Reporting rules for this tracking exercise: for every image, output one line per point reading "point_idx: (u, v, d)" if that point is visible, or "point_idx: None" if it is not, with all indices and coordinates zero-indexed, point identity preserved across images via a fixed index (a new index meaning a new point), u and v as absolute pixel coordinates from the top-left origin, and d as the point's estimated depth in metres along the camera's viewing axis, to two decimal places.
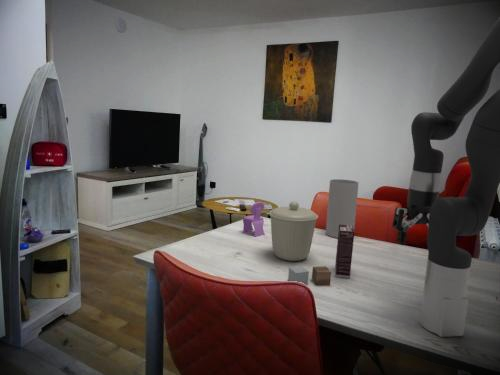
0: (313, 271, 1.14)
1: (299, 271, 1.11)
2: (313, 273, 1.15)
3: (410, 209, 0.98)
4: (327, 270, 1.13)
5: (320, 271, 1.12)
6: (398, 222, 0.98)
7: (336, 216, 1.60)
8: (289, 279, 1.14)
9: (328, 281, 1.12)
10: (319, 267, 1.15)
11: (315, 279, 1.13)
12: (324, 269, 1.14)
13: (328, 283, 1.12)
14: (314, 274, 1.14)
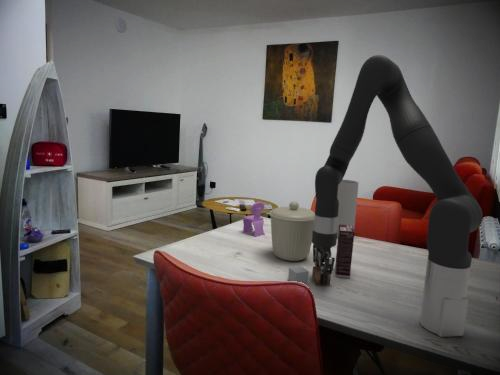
0: (313, 271, 1.14)
1: (299, 271, 1.11)
2: (313, 272, 1.15)
3: (330, 252, 1.09)
4: None
5: (320, 271, 1.12)
6: None
7: None
8: (289, 279, 1.14)
9: (328, 281, 1.12)
10: (319, 267, 1.15)
11: (315, 278, 1.13)
12: None
13: (328, 283, 1.12)
14: (314, 273, 1.14)
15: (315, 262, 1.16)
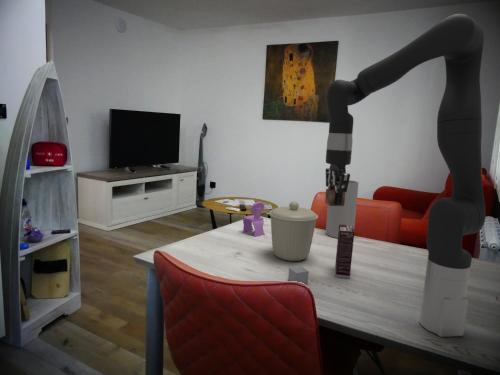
0: (327, 193, 1.13)
1: (299, 271, 1.11)
2: (327, 195, 1.13)
3: (345, 170, 1.07)
4: None
5: (334, 191, 1.10)
6: None
7: (336, 216, 1.60)
8: (289, 279, 1.14)
9: (342, 201, 1.11)
10: (332, 189, 1.13)
11: (329, 199, 1.11)
12: None
13: (342, 203, 1.11)
14: (328, 195, 1.12)
15: (328, 185, 1.15)
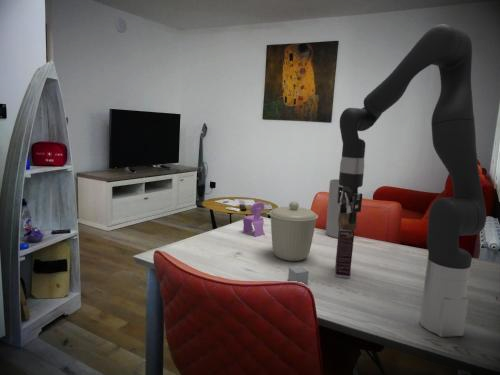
0: (339, 217, 1.20)
1: (299, 271, 1.11)
2: (339, 219, 1.20)
3: (357, 191, 1.14)
4: None
5: (346, 216, 1.17)
6: (360, 205, 1.12)
7: (336, 216, 1.60)
8: (289, 279, 1.14)
9: (354, 225, 1.18)
10: (345, 213, 1.20)
11: (341, 223, 1.18)
12: None
13: (354, 227, 1.18)
14: (340, 219, 1.19)
15: (340, 202, 1.23)
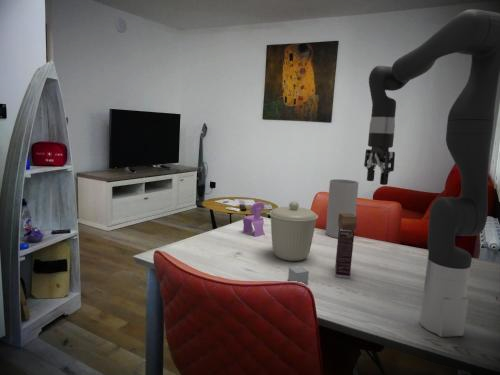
0: (339, 217, 1.20)
1: (299, 271, 1.11)
2: (339, 219, 1.20)
3: (388, 151, 1.12)
4: (353, 215, 1.18)
5: (346, 216, 1.17)
6: (393, 164, 1.09)
7: (336, 216, 1.60)
8: (289, 279, 1.14)
9: (354, 225, 1.18)
10: (345, 213, 1.20)
11: (341, 223, 1.18)
12: (350, 214, 1.19)
13: (354, 227, 1.18)
14: (340, 219, 1.19)
15: (367, 165, 1.20)
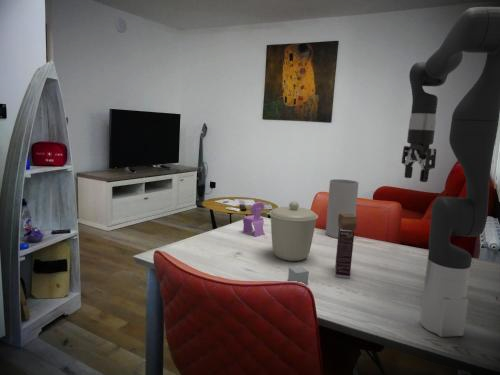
0: (339, 217, 1.20)
1: (299, 271, 1.11)
2: (339, 219, 1.20)
3: None
4: (353, 215, 1.18)
5: (346, 216, 1.17)
6: (434, 161, 1.08)
7: (336, 216, 1.60)
8: (289, 279, 1.14)
9: (354, 225, 1.18)
10: (345, 213, 1.20)
11: (341, 223, 1.18)
12: (349, 214, 1.19)
13: (354, 227, 1.18)
14: (340, 219, 1.19)
15: (405, 162, 1.20)
